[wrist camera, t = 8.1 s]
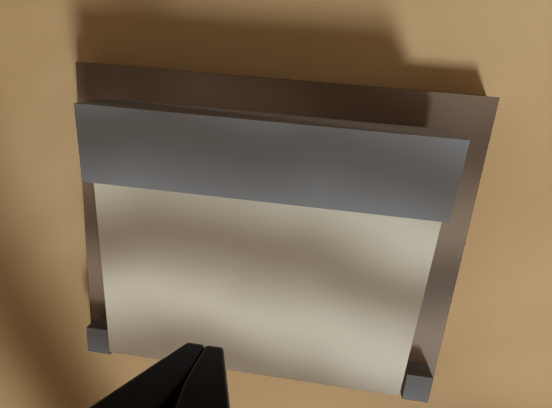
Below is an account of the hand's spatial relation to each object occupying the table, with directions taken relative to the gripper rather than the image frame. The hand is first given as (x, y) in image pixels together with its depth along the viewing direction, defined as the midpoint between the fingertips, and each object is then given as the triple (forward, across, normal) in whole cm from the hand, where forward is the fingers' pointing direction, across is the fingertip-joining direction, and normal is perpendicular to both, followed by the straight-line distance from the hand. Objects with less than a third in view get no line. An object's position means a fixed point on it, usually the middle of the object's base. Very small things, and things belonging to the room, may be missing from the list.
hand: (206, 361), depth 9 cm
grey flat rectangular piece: (+9, 0, +1) cm, 9 cm away
